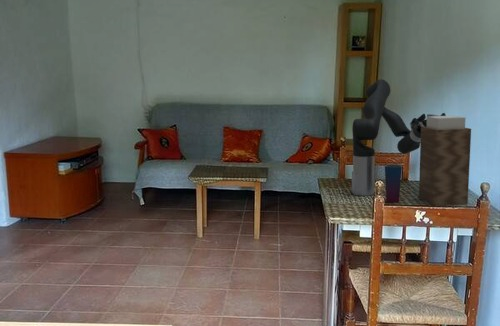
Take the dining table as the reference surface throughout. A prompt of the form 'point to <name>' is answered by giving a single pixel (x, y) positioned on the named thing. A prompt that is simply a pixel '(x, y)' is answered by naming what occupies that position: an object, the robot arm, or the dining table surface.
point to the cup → (393, 182)
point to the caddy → (445, 122)
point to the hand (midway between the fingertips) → (434, 115)
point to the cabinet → (444, 166)
